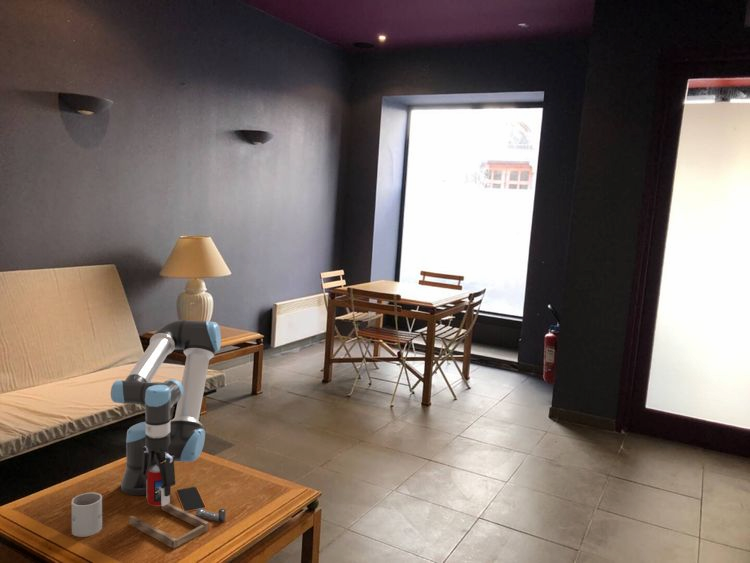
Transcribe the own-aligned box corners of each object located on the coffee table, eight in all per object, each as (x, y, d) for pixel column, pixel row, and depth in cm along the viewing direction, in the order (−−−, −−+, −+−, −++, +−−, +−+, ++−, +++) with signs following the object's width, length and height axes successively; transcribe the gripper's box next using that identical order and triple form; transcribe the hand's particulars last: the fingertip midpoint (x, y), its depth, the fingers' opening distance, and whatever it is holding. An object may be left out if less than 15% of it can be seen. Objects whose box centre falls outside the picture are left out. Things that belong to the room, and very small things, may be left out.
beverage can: (161, 509, 187) (161, 473, 185) (142, 505, 188) (142, 470, 187) (173, 498, 194) (173, 464, 192) (154, 495, 195) (154, 461, 193)
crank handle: (194, 516, 195) (194, 506, 195) (199, 512, 198) (199, 502, 197) (222, 523, 192) (222, 512, 191) (227, 519, 194) (227, 509, 194)
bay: (129, 524, 188) (129, 517, 188) (164, 508, 199) (164, 501, 199) (173, 548, 176) (174, 540, 176) (208, 529, 187) (208, 522, 187)
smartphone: (184, 513, 197) (184, 511, 197) (175, 492, 212) (175, 489, 211) (206, 509, 201) (206, 507, 200) (196, 488, 215) (196, 486, 215)
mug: (97, 536, 181) (97, 505, 180) (67, 537, 179) (67, 506, 178) (108, 515, 193) (108, 486, 192) (80, 516, 191) (80, 487, 190)
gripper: (128, 429, 190) (129, 495, 193) (167, 446, 179) (167, 515, 183) (148, 422, 196) (149, 486, 199) (187, 438, 185) (187, 505, 189)
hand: (158, 500), depth 191 cm, fingers closed on beverage can, 7 cm apart
